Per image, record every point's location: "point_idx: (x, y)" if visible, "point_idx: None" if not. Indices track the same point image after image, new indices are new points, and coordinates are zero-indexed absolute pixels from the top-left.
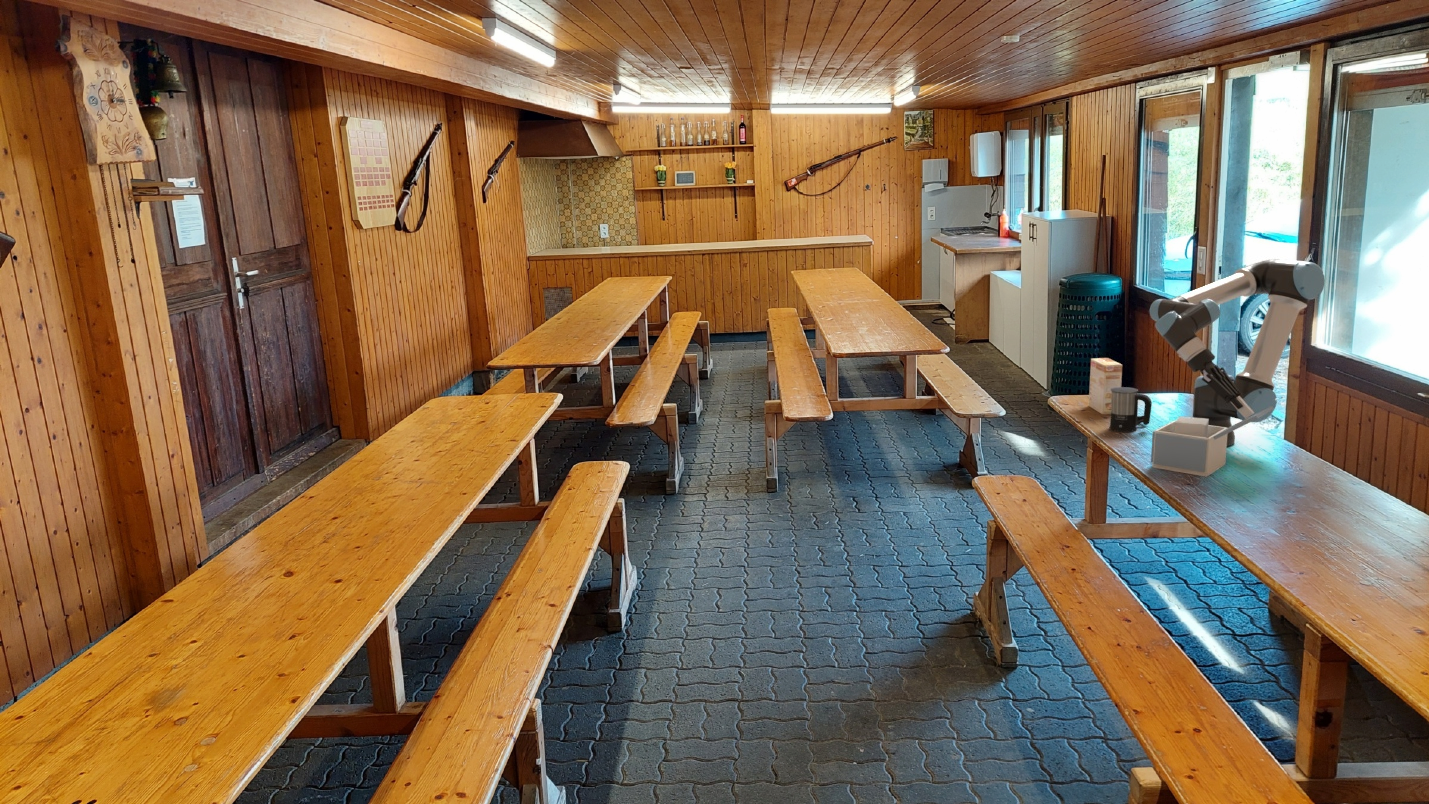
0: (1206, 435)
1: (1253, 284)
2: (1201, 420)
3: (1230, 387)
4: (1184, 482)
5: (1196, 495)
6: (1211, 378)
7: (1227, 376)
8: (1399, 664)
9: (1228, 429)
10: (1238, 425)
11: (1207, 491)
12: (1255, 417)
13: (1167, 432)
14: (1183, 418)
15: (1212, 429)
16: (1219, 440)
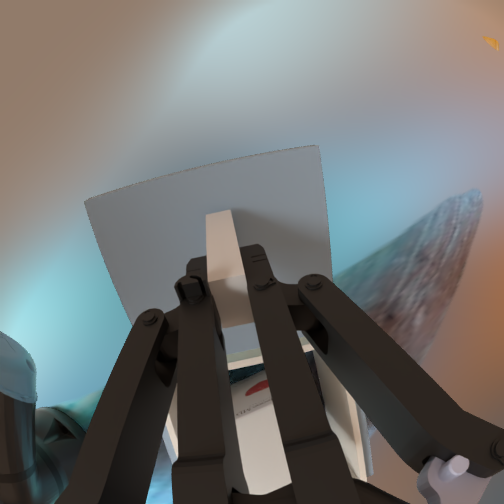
0: (257, 394)
1: None
2: (244, 439)
3: (215, 357)
4: (385, 330)
5: (430, 261)
6: (478, 422)
7: (98, 459)
8: (490, 41)
9: (331, 273)
10: (326, 231)
11: (399, 262)
12: (317, 151)
13: (362, 456)
14: (264, 489)
15: (174, 417)
16: (234, 357)
